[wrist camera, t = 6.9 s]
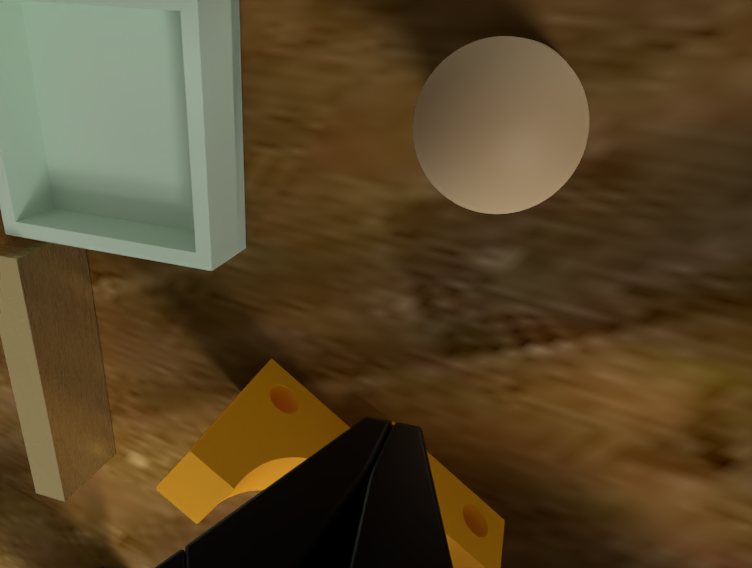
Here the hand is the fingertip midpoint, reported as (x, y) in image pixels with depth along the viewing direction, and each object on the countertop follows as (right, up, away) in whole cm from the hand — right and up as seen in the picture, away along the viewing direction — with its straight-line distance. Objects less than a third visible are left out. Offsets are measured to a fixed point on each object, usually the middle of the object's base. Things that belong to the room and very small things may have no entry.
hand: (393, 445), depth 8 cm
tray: (-9, +9, +14) cm, 19 cm away
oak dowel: (+4, +8, +10) cm, 13 cm away
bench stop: (-14, -1, +19) cm, 24 cm away
